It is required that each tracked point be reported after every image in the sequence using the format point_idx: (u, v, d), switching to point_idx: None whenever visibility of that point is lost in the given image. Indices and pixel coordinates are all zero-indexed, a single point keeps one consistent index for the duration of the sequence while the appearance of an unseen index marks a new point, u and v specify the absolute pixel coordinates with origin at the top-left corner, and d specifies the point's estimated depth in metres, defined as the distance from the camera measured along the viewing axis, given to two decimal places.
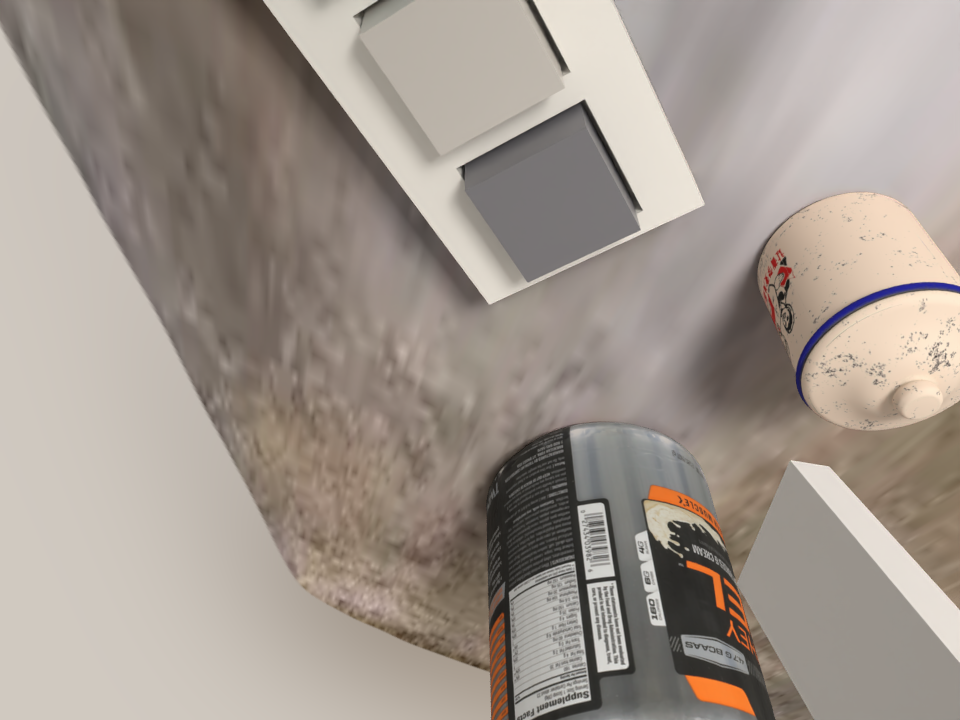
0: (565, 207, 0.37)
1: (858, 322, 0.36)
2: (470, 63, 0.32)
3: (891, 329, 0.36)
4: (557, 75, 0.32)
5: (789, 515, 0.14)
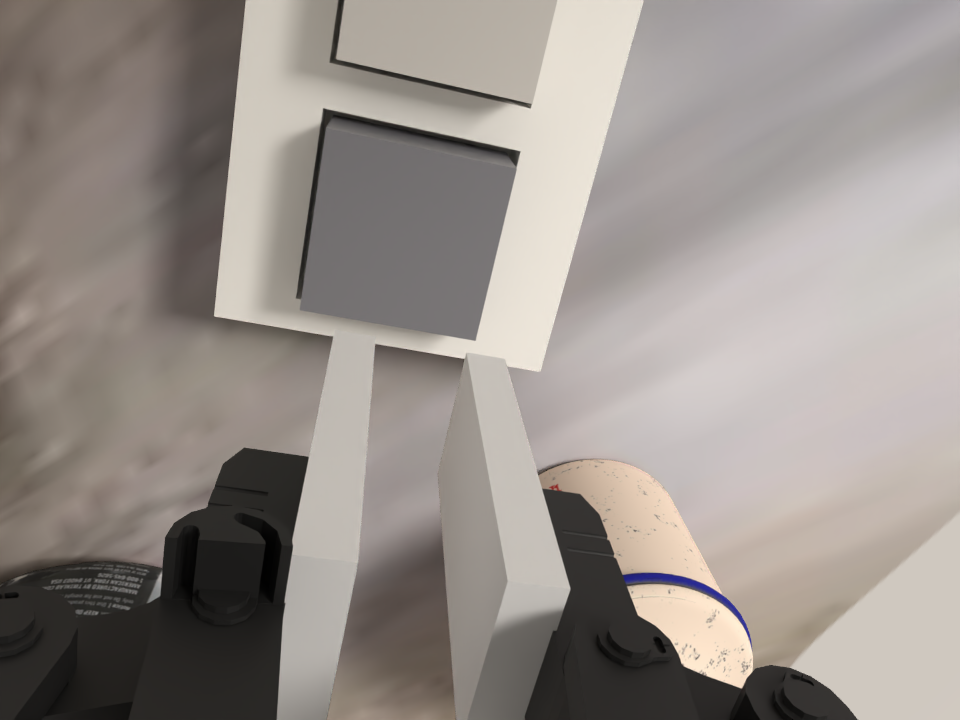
0: (420, 246, 0.26)
1: (644, 598, 0.27)
2: None
3: (670, 626, 0.28)
4: (536, 82, 0.24)
5: (460, 401, 0.15)
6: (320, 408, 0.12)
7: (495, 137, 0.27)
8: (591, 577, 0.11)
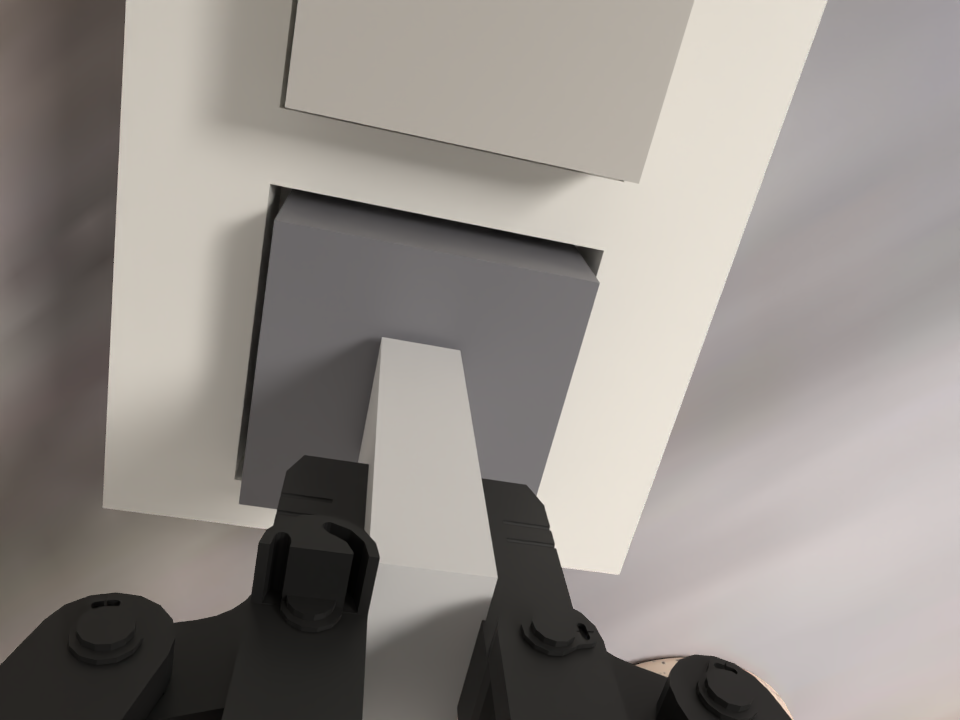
0: None
1: None
2: None
3: None
4: (647, 147, 0.14)
5: None
6: (378, 416, 0.12)
7: (563, 229, 0.16)
8: (527, 567, 0.11)
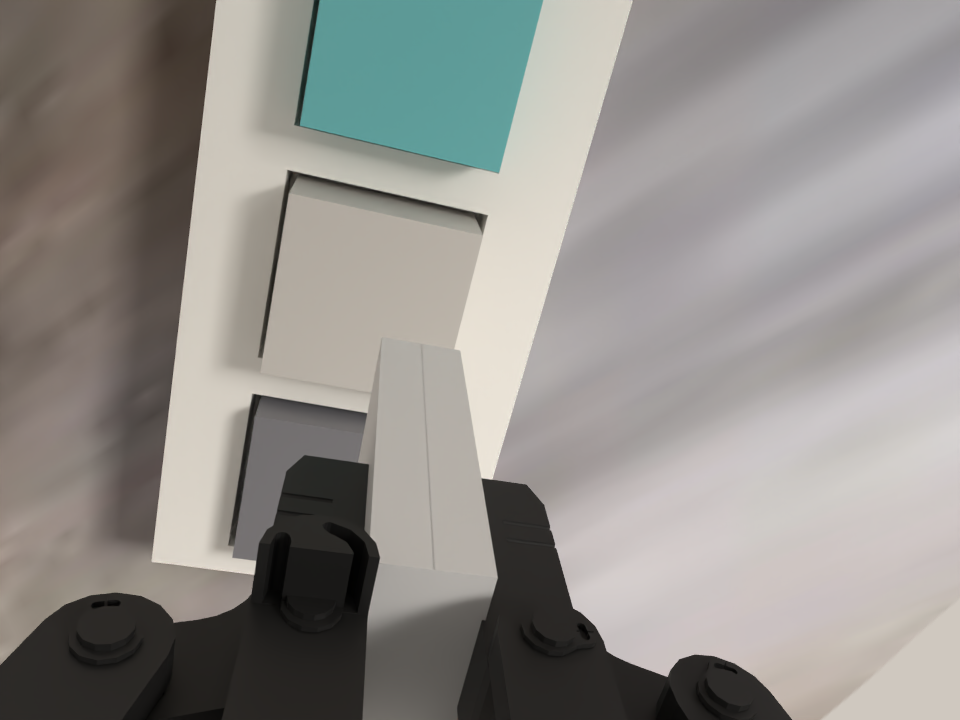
0: None
1: None
2: (375, 311, 0.26)
3: None
4: None
5: None
6: (378, 416, 0.12)
7: None
8: (528, 568, 0.10)
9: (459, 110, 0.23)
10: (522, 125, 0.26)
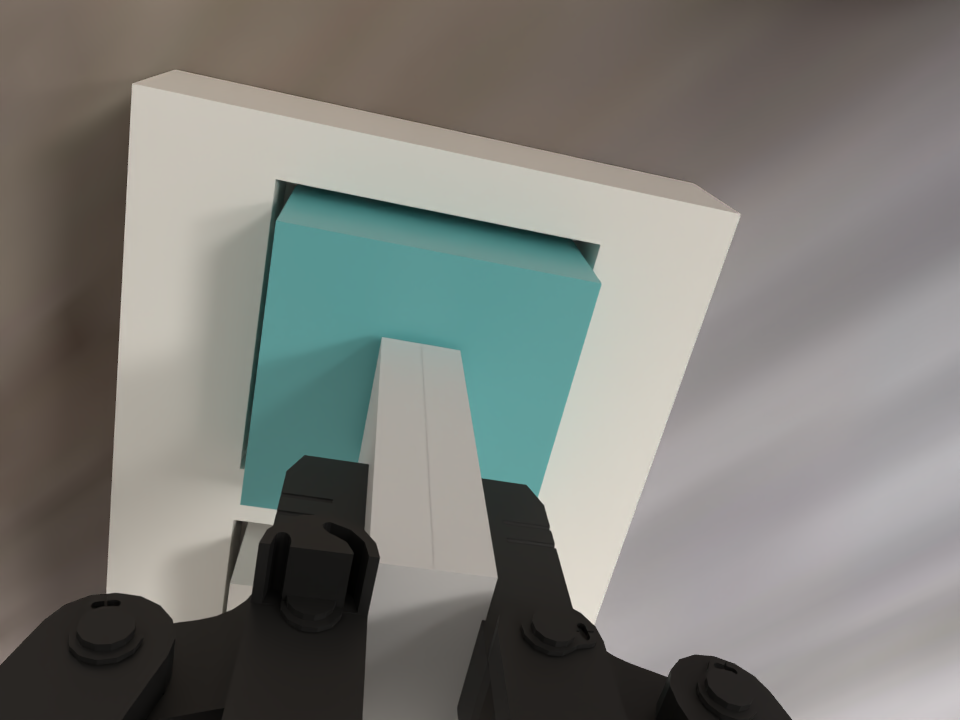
0: None
1: None
2: None
3: None
4: None
5: None
6: (378, 416, 0.12)
7: None
8: (528, 568, 0.10)
9: None
10: (555, 452, 0.18)
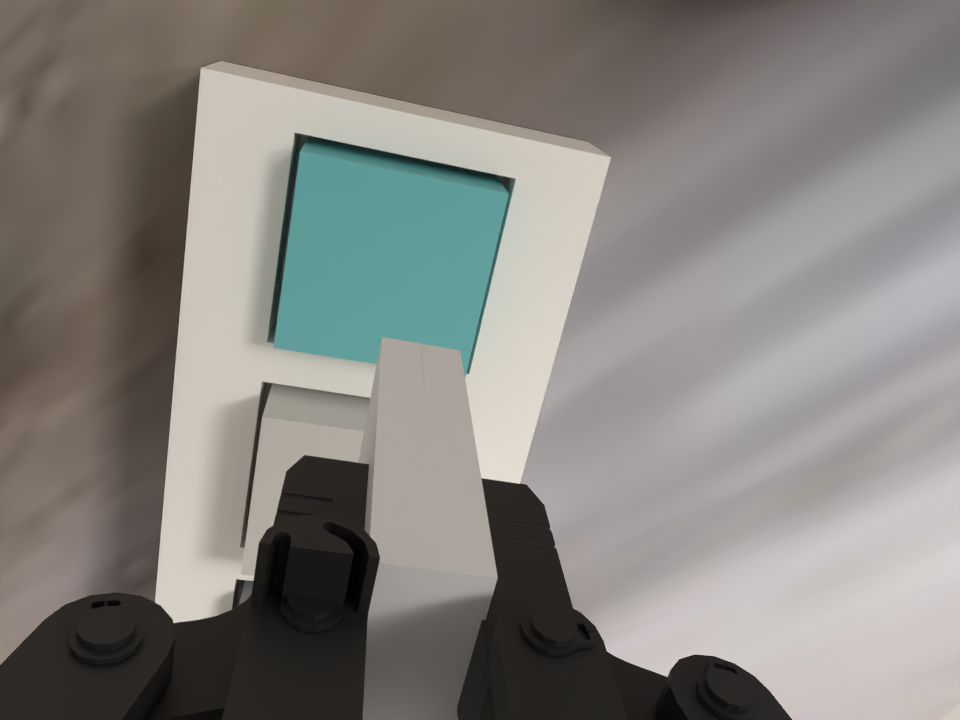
0: None
1: None
2: None
3: None
4: None
5: None
6: (378, 416, 0.12)
7: None
8: (528, 567, 0.11)
9: (425, 326, 0.25)
10: (490, 330, 0.26)
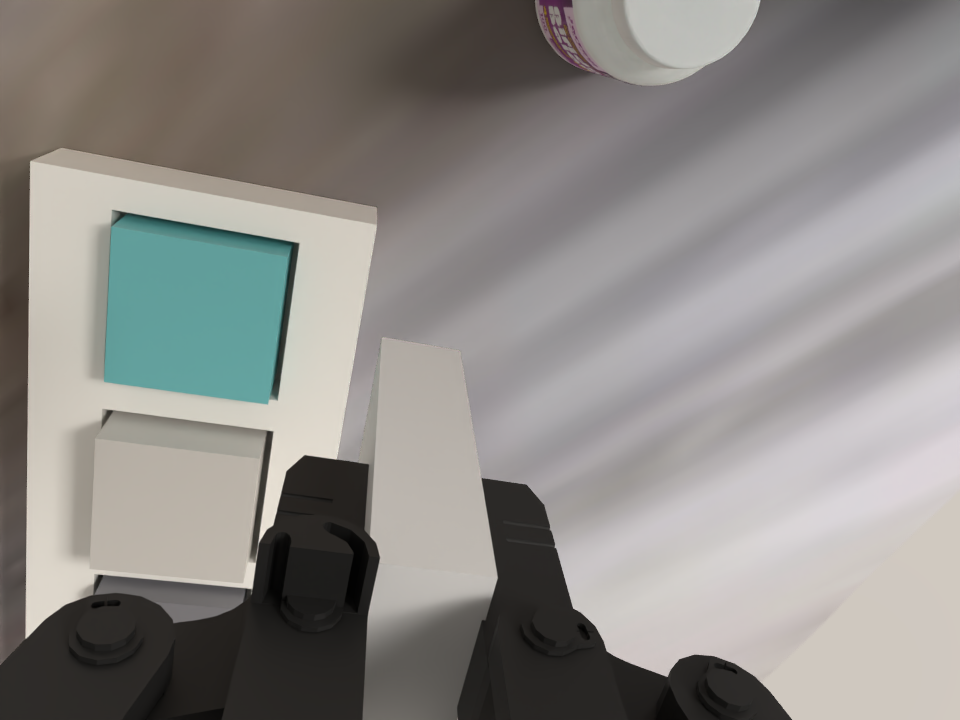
0: None
1: None
2: (178, 518, 0.32)
3: None
4: (243, 570, 0.33)
5: None
6: (378, 416, 0.12)
7: (231, 582, 0.35)
8: (527, 568, 0.10)
9: (229, 363, 0.30)
10: (292, 364, 0.32)
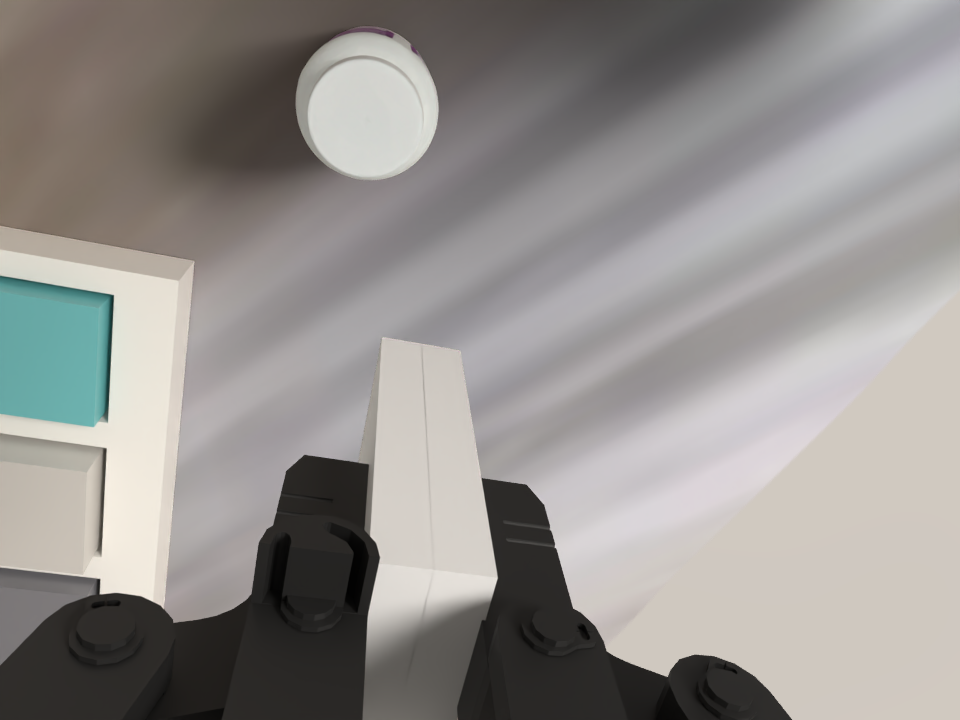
0: None
1: None
2: (22, 520, 0.38)
3: None
4: (82, 564, 0.39)
5: None
6: (378, 416, 0.12)
7: None
8: (527, 568, 0.10)
9: (58, 393, 0.36)
10: (117, 393, 0.38)
